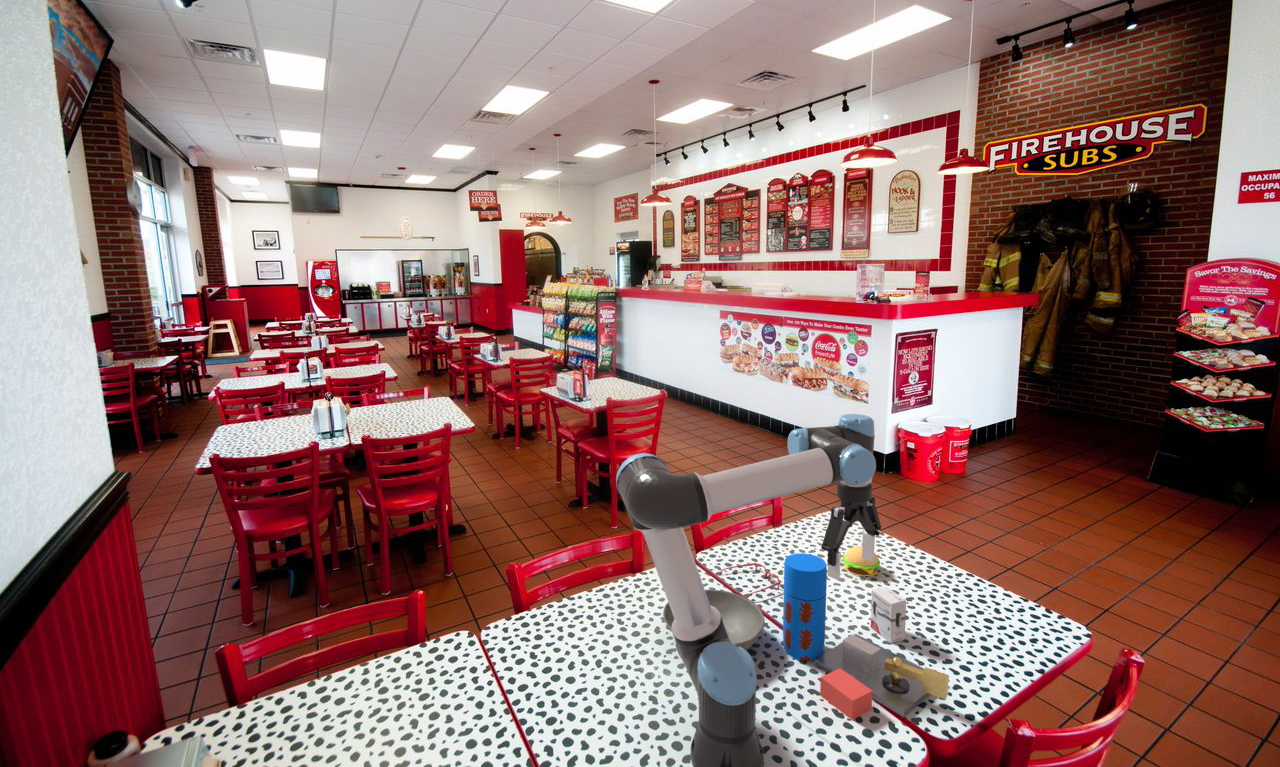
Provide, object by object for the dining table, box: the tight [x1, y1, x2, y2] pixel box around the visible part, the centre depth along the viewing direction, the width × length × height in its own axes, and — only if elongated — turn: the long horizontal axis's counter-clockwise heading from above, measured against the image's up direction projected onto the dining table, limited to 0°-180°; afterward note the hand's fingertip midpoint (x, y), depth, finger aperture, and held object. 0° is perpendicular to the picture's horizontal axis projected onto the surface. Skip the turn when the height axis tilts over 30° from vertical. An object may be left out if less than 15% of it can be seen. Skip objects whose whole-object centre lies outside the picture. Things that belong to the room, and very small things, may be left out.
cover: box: [819, 668, 873, 721], centre depth 138 cm, size 6×10×5 cm
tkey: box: [885, 657, 950, 700], centre depth 138 cm, size 14×2×6 cm, turn 52°
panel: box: [814, 633, 931, 718], centre depth 147 cm, size 18×24×6 cm
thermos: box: [782, 552, 828, 662], centre depth 156 cm, size 11×11×25 cm
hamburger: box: [841, 545, 881, 578], centre depth 199 cm, size 12×12×9 cm
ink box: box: [870, 586, 907, 644], centre depth 164 cm, size 8×5×12 cm, turn 17°
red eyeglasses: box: [718, 562, 782, 599], centre depth 191 cm, size 17×16×5 cm
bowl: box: [662, 589, 766, 651], centre depth 162 cm, size 27×28×8 cm
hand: (851, 568), depth 138 cm, fingers open, 13 cm apart
